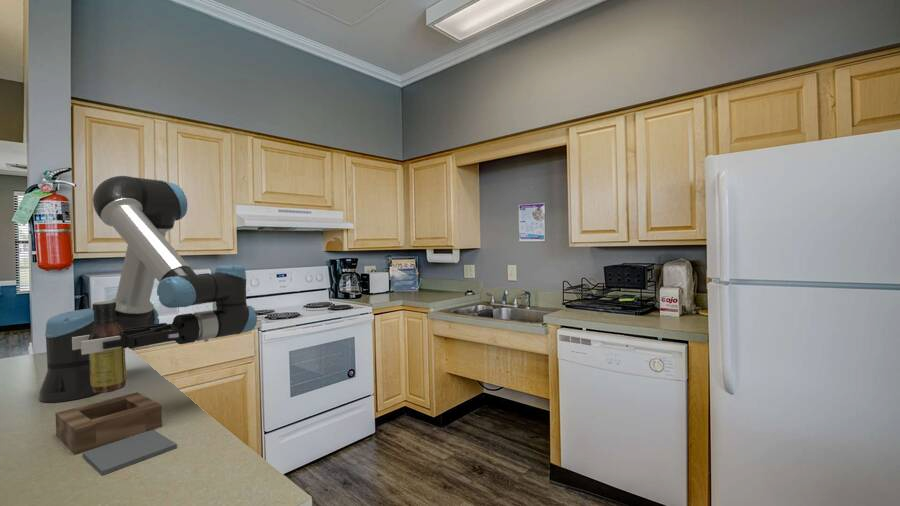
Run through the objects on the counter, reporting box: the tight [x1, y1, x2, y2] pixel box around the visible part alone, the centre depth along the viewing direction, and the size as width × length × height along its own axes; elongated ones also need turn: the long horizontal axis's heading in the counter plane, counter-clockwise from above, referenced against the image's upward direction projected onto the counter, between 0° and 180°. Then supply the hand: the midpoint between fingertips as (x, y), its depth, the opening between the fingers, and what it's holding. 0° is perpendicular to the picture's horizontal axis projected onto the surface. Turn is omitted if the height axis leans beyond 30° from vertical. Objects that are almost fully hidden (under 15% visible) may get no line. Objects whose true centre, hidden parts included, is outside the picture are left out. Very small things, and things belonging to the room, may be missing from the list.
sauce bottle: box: [88, 300, 127, 394], centre depth 92 cm, size 7×6×20 cm
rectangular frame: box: [55, 391, 163, 455], centre depth 92 cm, size 15×15×5 cm
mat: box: [82, 429, 178, 476], centre depth 82 cm, size 12×12×1 cm
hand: (77, 345), depth 88 cm, fingers closed on sauce bottle, 6 cm apart
